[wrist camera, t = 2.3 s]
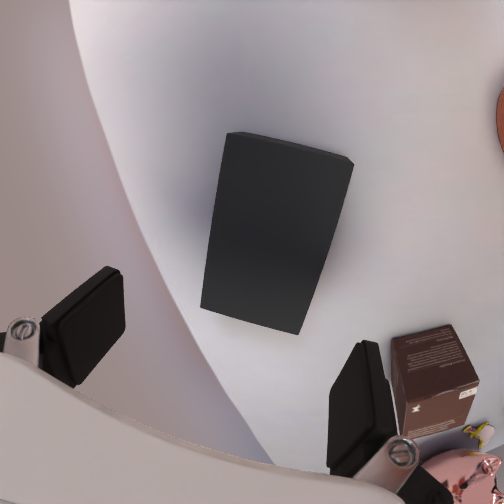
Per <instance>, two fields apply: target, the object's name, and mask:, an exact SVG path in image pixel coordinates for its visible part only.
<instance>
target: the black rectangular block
mask: <svg viewBox="0 0 504 504" xmlns="http://www.w3.org/2000/svg"><path fill="white" fill-rule="evenodd" d="M353 167H354V163H353V162H352V161H350V160H349V159H348V158H347V157H345V156H341V155H338V154H334V153H331V152H327V151H323V150H320V149H316V148H312V147H308V146H304V145H300V144H296V143H292V142H288V141H284V140H279V139H275V138H270V137H266V136H261V135H256V134H251V133H246V132H233V133H227V135H226V141H225V146H224V152H223V157H222V163H221V169H220V174H219V180H218V186H217V192H216V198H215V205H214V211H213V217H212V224H211V231H210V237H209V244H208V251H207V258H206V266H205V273H204V281H203V288H202V296H201V305H200V307H201V308H203V309H206V310H209V311H213V312H216V313H219V314H223V315H226V316H229V317H233V318H236V319H240V320H243V321H247V322H250V323H254V324H257V325H261V326H265V327H268V328H272V329H276V330H280V331H283V332H287V333H291V334H295V335H298V334H299V332H300V330H301V327H302V325H303V322H304V319H305V317H306V314H307V311H308V309H309V306H310V303H311V300H312V298H313V295H314V292H315V289H316V286H317V283H318V281H319V278H320V275H321V272H322V269H323V266H324V263H325V260H326V257H327V254H328V251H329V248H330V245H331V242H332V239H333V235H334V232H335V229H336V226H337V223H338V219H339V216H340V213H341V210H342V206H343V203H344V199H345V196H346V192H347V189H348V185H349V182H350V178H351V175H352V171H353Z"/></svg>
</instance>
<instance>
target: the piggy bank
mask: <svg viewBox="0 0 504 504" xmlns="http://www.w3.org/2000/svg"><path fill="white" fill-rule="evenodd" d="M501 462H502V459H501V457H499V456H497V455H493V454H486V453H481V452H478V451H476V450H472V449H453V450H449V451H446V452H443V453H440V454H438V455H436V456H434V457H432V458H430V459H429V460H427V461H426V462H424V463H423V464H422V465H420V466H422V467H423V468H424V469H425V470H426V471H427V472H429V473H430V474H431V475H432V476H433V477H434V478H436V479H437V480H438V481H439V482H440V483H441V484H443V485H444V486H445V487H446V488H447V489H448V490H449V491H450V492H451V493H452V496H453V499H454V504H504V494H502V493H501V492H500V491H499V490H498V488H497V477H496V471H497V470H498V469H499V467H500V465H501Z"/></svg>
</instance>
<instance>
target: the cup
mask: <svg viewBox="0 0 504 504" xmlns="http://www.w3.org/2000/svg"><path fill="white" fill-rule="evenodd" d="M497 128H498V135H499V139H500V143H501V146H502V149H503V151H504V89H503V90H502V92H501V94H500V97H499V101H498V105H497Z"/></svg>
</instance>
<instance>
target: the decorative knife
mask: <svg viewBox="0 0 504 504" xmlns="http://www.w3.org/2000/svg"><path fill="white" fill-rule="evenodd" d="M484 423H485V422H484ZM484 423H483V424H482V425H480V426H479V427H478V428H477V429H475V428H471V426H473V425H471V426H468V427H467V428H465V429H464V431H463V433H466V432H469V433H472V434H471V435H470V436H471V437H470V438H473V437H474V436H476V437H475V438H476V439H477V438H479V439H480V442H479V444H480V445H479V448H478V450H479V449H481V448H482V447H484V445H485V444H486V443H487V442H488V441H489V440H490V439H491V437H492V436H493V434H494V428H493V427H492V426H490V425H488V422H487V423H485V424H484ZM487 425H488V426H487ZM478 450H477V451H478Z"/></svg>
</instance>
